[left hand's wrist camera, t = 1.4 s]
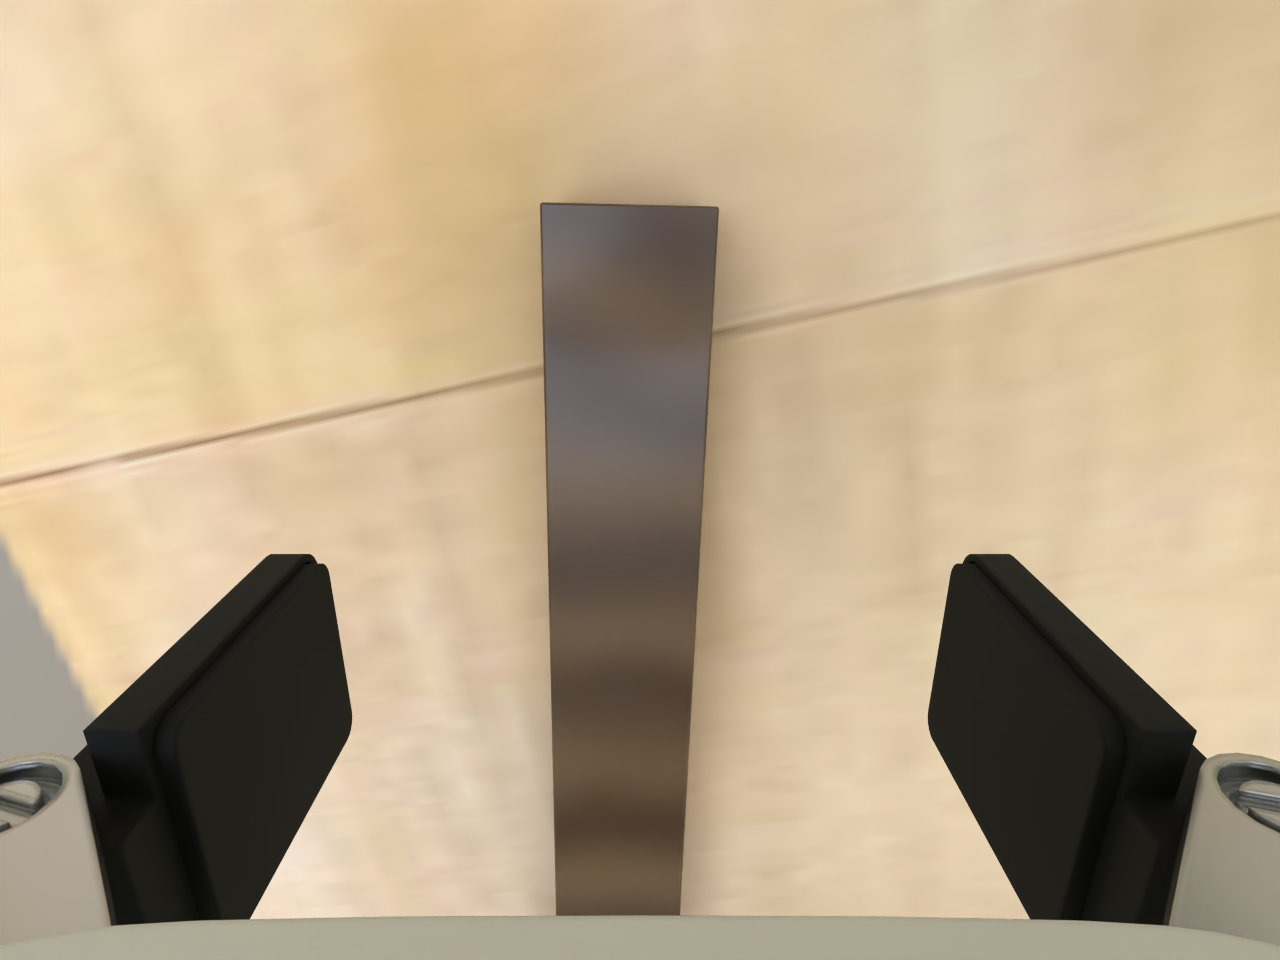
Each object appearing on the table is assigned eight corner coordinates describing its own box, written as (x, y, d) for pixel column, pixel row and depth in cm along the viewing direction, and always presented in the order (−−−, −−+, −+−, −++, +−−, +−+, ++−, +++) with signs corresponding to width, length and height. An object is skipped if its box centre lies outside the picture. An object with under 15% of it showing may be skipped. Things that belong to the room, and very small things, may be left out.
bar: (559, 203, 30) (539, 202, 24) (702, 206, 30) (719, 206, 24) (571, 1054, 48) (562, 1180, 42) (661, 1055, 48) (665, 1181, 42)
